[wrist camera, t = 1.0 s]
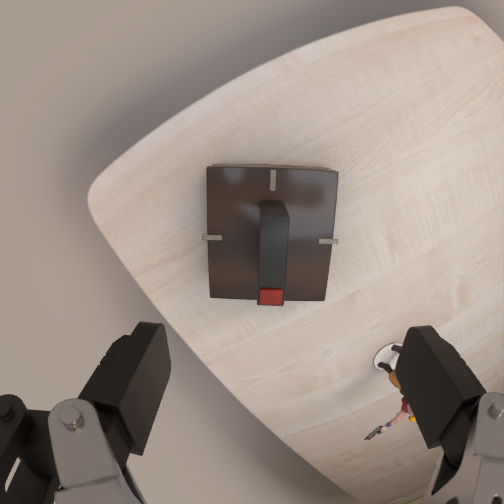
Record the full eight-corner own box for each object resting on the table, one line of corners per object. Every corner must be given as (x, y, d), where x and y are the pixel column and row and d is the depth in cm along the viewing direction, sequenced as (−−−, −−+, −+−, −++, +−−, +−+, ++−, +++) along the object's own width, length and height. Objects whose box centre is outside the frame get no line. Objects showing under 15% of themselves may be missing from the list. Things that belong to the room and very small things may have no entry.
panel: (209, 164, 22) (200, 166, 19) (333, 168, 22) (344, 172, 19) (211, 281, 25) (205, 298, 22) (322, 284, 25) (329, 302, 22)
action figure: (365, 399, 31) (383, 459, 22) (347, 395, 30) (363, 458, 21) (426, 326, 27) (467, 382, 18) (409, 318, 26) (450, 378, 17)
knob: (260, 200, 20) (259, 216, 15) (283, 201, 20) (290, 217, 15) (258, 274, 22) (256, 307, 17) (279, 274, 22) (283, 308, 17)
